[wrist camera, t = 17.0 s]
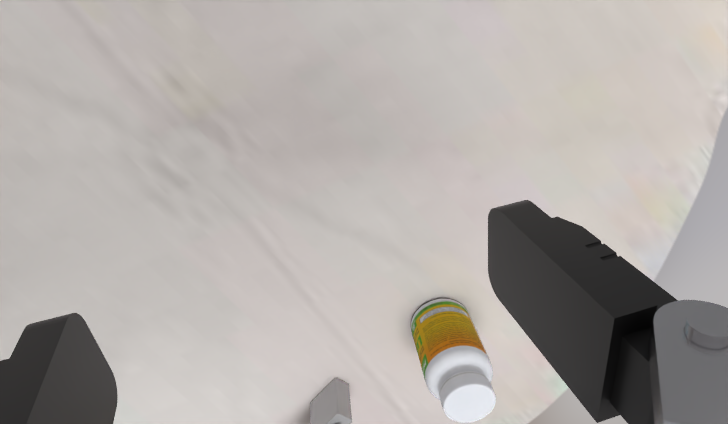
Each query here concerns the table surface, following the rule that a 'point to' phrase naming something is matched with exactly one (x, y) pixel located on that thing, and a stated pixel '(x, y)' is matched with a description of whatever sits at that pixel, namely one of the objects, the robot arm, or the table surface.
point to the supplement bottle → (453, 360)
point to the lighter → (332, 404)
